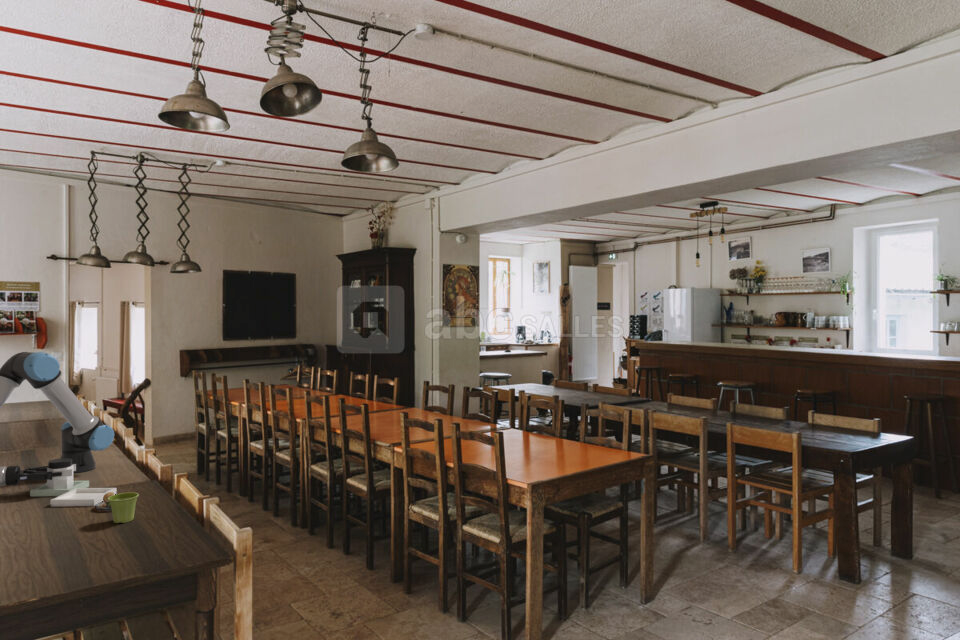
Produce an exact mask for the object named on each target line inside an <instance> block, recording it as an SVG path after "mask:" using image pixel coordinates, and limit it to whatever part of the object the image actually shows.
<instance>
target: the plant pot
mask: <svg viewBox="0 0 960 640" xmlns="http://www.w3.org/2000/svg"><path fill="white" fill-rule="evenodd" d="M139 495H140V494H139V493H138V492H121V493H117V494H116V495H113V496H110V497H108V500H109V502H110V504H111V509H112V512H111V515H112V520H113V523H114V524H119V523H124V524H125V523H129V522H132V521H133V520H134V519H135V512H136V503H137V500H138V497H139Z"/></svg>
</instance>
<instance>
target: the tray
mask: <svg viewBox="0 0 960 640" xmlns="http://www.w3.org/2000/svg"><path fill="white" fill-rule="evenodd" d="M117 490H118V489H117V487H87V488H75V489H73V490H71V491H69V492H67V493H65V494H62V495H60V496H55V497H54V498H52V499H50V507H95V505H96V504H98V503H100V502H102V501H103V497H104V495H105V494H107V493H109V492H114V495H115V494H118V493H117V492H118V491H117ZM105 491H106V492H105ZM103 502H104V501H103Z"/></svg>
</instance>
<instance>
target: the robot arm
mask: <svg viewBox="0 0 960 640" xmlns="http://www.w3.org/2000/svg"><path fill="white" fill-rule="evenodd" d="M62 374H63V372H62V371H61V370H60V363H59V360H58V359H57V358H56V357H55V356H54V355H52V354H49V353H47V352H40V351H39V352H32V351H30V352H29V351H22V352H17V353H15V354H13V355H12V356H10V357H9V358H8V359H7V360H6V361H5V363H3V364H2V365H1V367H0V410H1V408H2V407H3V406H4V405H5V403H6V401H7V400H8V398H9V397H10V396H11V394H12V392H13V391H14V390H15V388H19V387H21V385H22V383H23V382H24V381H25V380H26V381H27V382H28V383H29V384H30V386H32V388H33V389H35V390H40V391H41V392H42V393H43V394H44V396H45V397H46V398H47V399H48V400H49V401H50V402H51V404H53V406H54V407H55V408H56V409H57V411H58V412H59V413H60V414H61V415H62V417H63V418H64V419H65V420H66V421H65V422H63V423H62V424H61V430H60V432H61V455H60V458H59V459H61V458H71V459H72V465H73V474H77V473H83V472H87V471H92V470H94V469H96V461H95V457H94V456H93V452H96V451H98V452H99V451H100V452H102V451H104V450H106V449H108V448H110V446H111V445H112V443H113V441H114V437H115V431H114V429H113V428H112V426H110V425H108V424H104V423H103V421H102V420H101V419H100V418H99V417H98V416H97V415H94V416H93V415H92V414H91V413H90V412H89V411H88V410H87V408H86V407H85V406H84V404H83V403H82V401H80V400H79V398H78V397H77V396H76V394H75V393H74V392H73V391H72V390H71V388H70V387H69V386H68V385H67V383H65V381H64V380H63V378H62ZM47 468H48V465H43V466H33V467H27V468H25V469H23V470H22V469H21V467H20V466H19V465H10V466H0V487H4V486H16V485H17V486H18V485H19V484H20V482H21V483H22V482H27V481H29V482H30V481H47V480H48V479H49V480H52V477H53V478H56V477H67V476H72V469H67V470H55V471H53V473H52V472H51V471H50V472H47Z"/></svg>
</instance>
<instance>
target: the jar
mask: <svg viewBox="0 0 960 640" xmlns="http://www.w3.org/2000/svg"><path fill="white" fill-rule="evenodd" d="M60 458H61V457H60ZM60 458H55V459H51V460H49V461H48V462H47V466H48V468H47V472H50V471H51V472H52V473H53V471H55V470H67V469H72V476H67V477H56V478H53V477H52V480H49V479H48V480H46V483H47V489H68V488H70V487H72V486H74V481H75V480H74V473H73V465H72V459H71V458H61V459H60Z"/></svg>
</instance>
